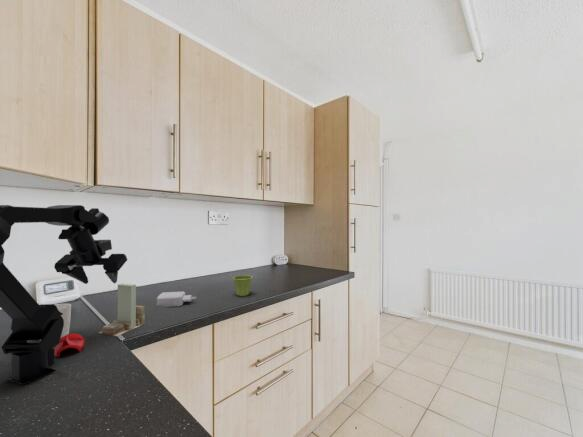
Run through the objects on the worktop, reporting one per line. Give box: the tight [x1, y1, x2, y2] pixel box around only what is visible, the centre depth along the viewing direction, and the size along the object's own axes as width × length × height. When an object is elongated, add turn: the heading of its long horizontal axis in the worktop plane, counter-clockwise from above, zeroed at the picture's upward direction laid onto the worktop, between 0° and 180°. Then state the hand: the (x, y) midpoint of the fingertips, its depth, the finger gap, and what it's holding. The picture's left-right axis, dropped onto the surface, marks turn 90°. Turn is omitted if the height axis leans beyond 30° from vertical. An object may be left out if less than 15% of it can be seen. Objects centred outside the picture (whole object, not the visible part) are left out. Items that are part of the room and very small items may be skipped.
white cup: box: [39, 303, 72, 342], centre depth 81 cm, size 8×8×10 cm
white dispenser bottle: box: [156, 291, 197, 308], centre depth 116 cm, size 5×9×15 cm
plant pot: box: [232, 274, 253, 297], centre depth 130 cm, size 9×9×9 cm
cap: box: [53, 333, 86, 358], centre depth 71 cm, size 8×6×6 cm
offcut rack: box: [98, 304, 146, 337], centre depth 87 cm, size 10×8×7 cm
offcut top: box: [102, 321, 123, 331], centre depth 84 cm, size 3×4×1 cm
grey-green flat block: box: [117, 282, 137, 328], centre depth 88 cm, size 2×6×14 cm, turn 72°
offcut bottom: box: [101, 326, 125, 336], centre depth 84 cm, size 4×5×1 cm
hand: (101, 282), depth 86 cm, fingers open, 9 cm apart
